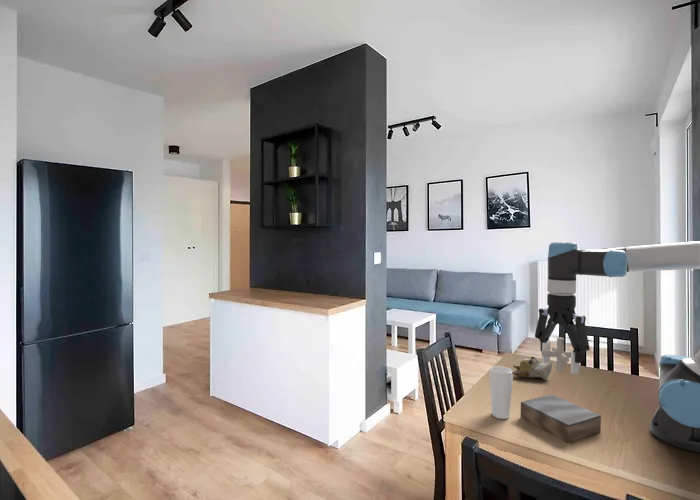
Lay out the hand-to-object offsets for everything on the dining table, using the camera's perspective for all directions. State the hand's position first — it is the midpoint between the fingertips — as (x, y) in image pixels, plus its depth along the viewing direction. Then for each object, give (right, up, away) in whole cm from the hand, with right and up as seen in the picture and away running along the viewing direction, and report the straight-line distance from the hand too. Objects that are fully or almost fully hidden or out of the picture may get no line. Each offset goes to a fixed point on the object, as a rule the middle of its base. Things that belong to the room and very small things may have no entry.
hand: (560, 367), depth 114 cm
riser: (0, -17, 0) cm, 17 cm away
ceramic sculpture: (+10, -16, +39) cm, 44 cm away
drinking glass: (-16, -17, +6) cm, 24 cm away
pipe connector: (0, -1, 0) cm, 1 cm away
